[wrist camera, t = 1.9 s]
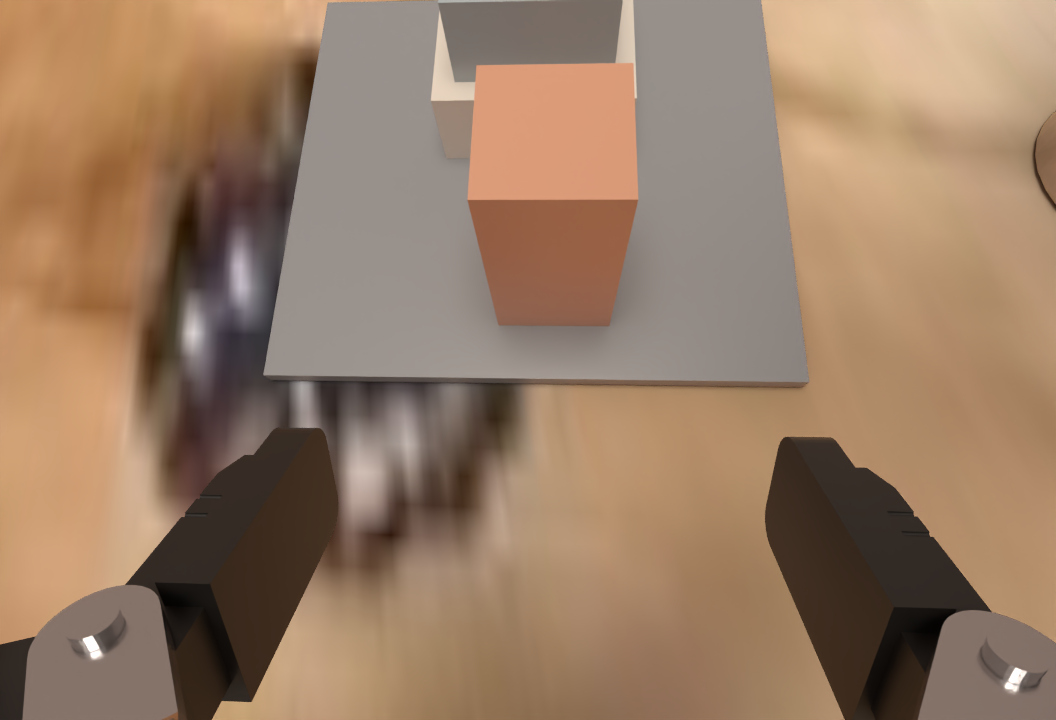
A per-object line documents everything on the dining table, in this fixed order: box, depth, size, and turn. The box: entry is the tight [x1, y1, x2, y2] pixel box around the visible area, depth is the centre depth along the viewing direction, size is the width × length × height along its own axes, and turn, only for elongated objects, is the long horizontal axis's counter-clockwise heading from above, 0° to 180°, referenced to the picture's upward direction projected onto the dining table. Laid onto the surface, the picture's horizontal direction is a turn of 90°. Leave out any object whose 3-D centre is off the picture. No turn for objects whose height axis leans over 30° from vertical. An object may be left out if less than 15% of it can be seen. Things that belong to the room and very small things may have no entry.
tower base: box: [431, 0, 637, 158], centre depth 27 cm, size 9×9×8 cm
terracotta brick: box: [467, 63, 638, 326], centre depth 23 cm, size 5×5×10 cm
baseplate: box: [264, 0, 809, 387], centre depth 30 cm, size 24×22×1 cm
